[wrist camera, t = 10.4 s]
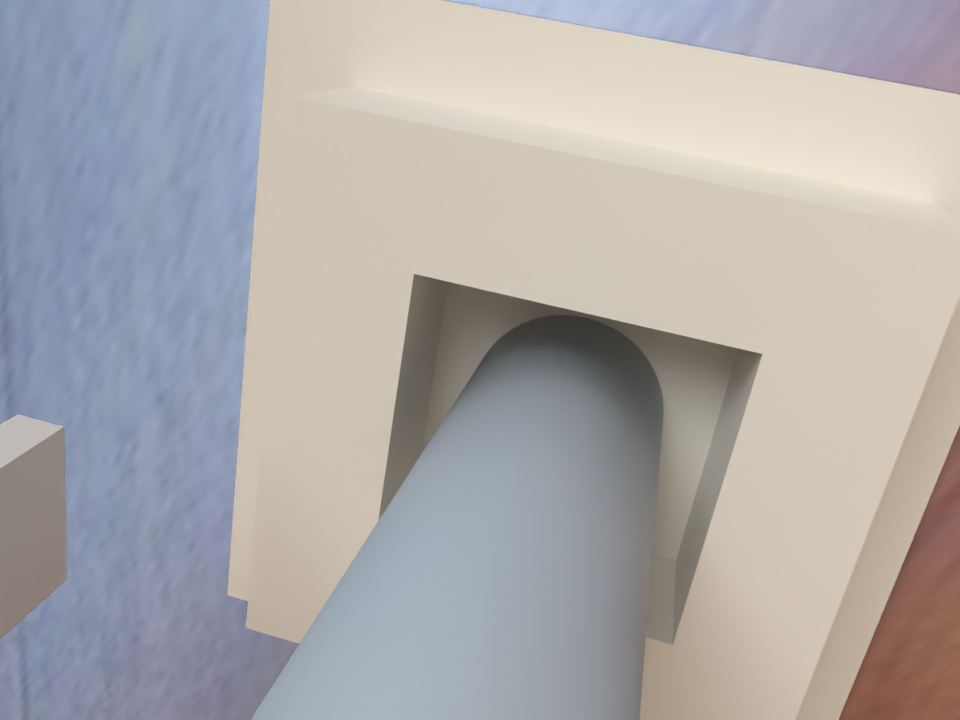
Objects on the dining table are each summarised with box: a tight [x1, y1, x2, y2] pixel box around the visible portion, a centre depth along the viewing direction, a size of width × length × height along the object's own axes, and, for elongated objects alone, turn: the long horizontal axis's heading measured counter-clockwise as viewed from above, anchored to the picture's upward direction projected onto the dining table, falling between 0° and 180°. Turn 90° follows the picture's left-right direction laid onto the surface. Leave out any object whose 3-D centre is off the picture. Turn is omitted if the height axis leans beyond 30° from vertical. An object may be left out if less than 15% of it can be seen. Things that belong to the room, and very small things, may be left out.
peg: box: [251, 315, 664, 720], centre depth 13 cm, size 4×4×16 cm
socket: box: [227, 0, 960, 720], centre depth 19 cm, size 16×16×4 cm
